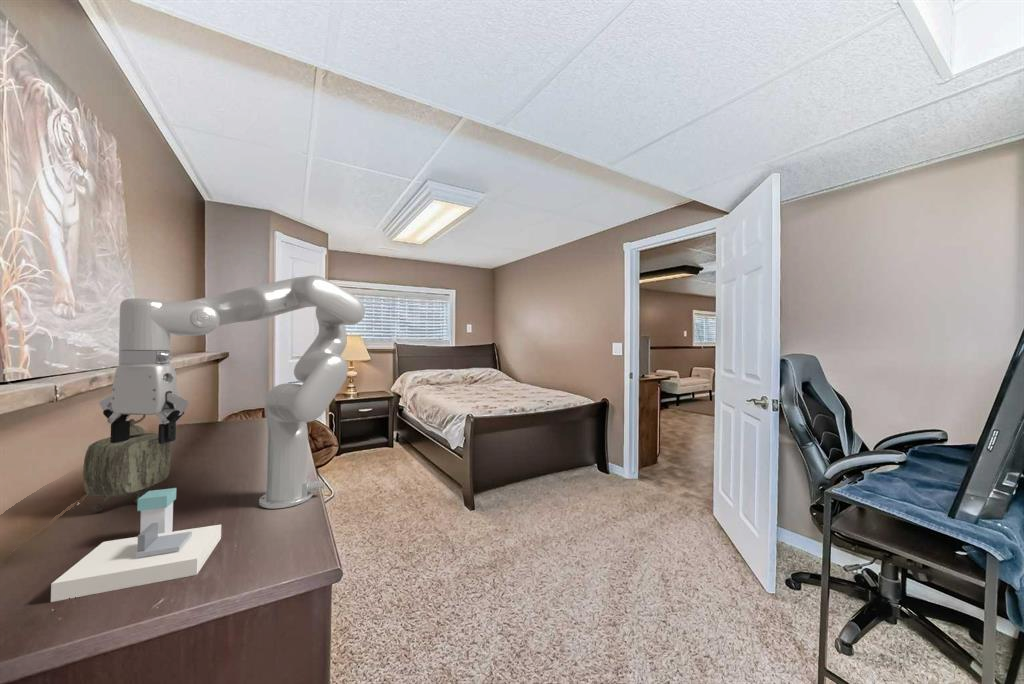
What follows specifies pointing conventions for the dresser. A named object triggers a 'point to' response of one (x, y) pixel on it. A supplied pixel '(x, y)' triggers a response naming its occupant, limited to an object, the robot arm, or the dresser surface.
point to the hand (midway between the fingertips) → (143, 441)
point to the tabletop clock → (125, 465)
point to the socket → (134, 565)
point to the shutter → (159, 542)
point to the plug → (157, 509)
